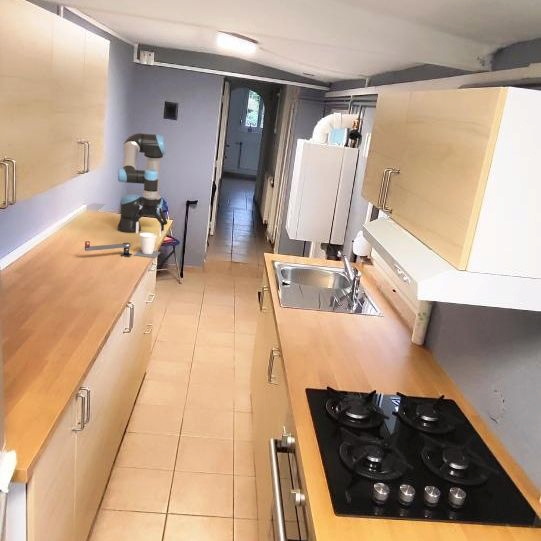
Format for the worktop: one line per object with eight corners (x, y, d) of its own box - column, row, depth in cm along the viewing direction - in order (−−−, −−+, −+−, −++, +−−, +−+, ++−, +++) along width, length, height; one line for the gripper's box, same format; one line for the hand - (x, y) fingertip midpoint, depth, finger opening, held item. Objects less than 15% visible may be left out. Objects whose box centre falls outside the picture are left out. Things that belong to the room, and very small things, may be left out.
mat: (140, 250, 321) (140, 249, 321) (160, 252, 320) (160, 251, 320) (134, 255, 309) (134, 254, 309) (154, 258, 309) (155, 257, 309)
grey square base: (123, 253, 310) (123, 245, 309) (132, 254, 310) (132, 246, 309) (120, 256, 306) (120, 247, 304) (129, 257, 305) (129, 249, 304)
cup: (154, 256, 310) (155, 237, 307) (136, 254, 310) (137, 235, 307) (158, 251, 319) (158, 233, 316) (141, 250, 319) (141, 231, 316)
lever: (83, 249, 293) (83, 240, 292) (128, 245, 309) (128, 237, 308) (86, 251, 290) (86, 242, 288) (131, 247, 306) (132, 239, 305)
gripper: (126, 196, 303) (125, 233, 310) (170, 201, 302) (168, 238, 309) (130, 194, 310) (129, 230, 317) (173, 199, 309) (171, 235, 316)
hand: (148, 234), depth 313 cm, fingers open, 13 cm apart
